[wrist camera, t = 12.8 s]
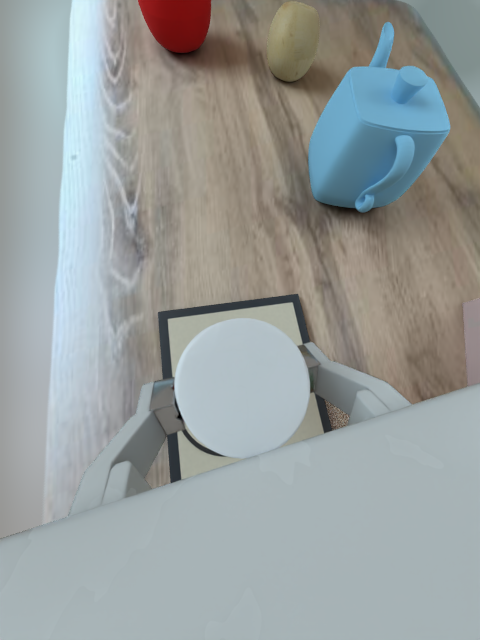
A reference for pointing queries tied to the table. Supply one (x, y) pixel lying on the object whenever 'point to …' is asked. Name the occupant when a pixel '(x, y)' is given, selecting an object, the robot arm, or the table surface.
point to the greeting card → (472, 340)
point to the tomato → (177, 22)
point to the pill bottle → (242, 387)
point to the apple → (293, 41)
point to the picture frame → (188, 323)
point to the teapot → (376, 133)
